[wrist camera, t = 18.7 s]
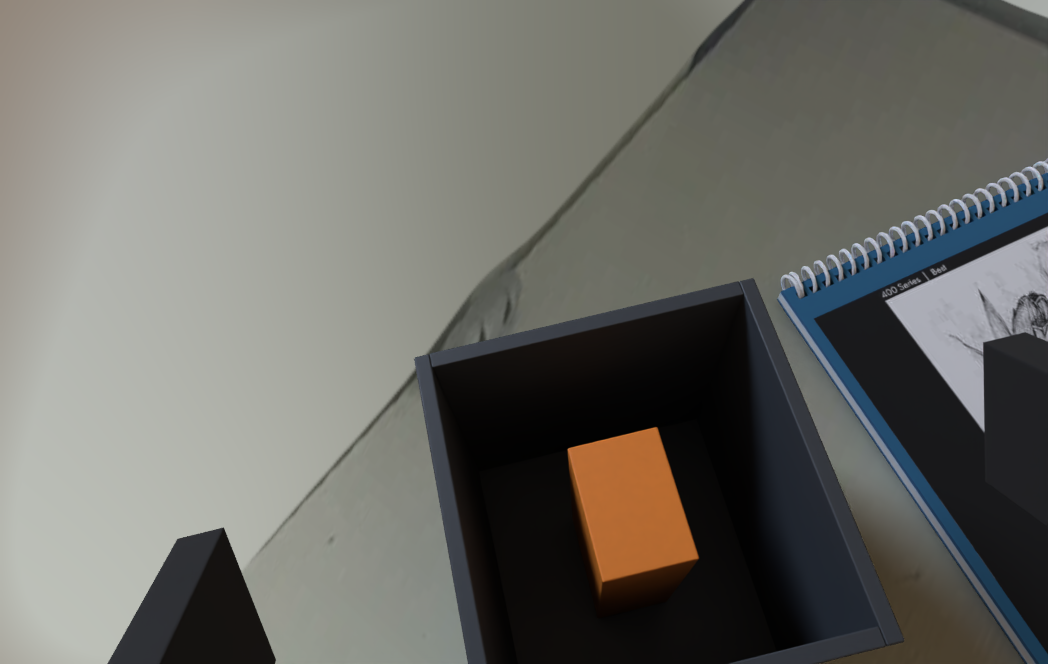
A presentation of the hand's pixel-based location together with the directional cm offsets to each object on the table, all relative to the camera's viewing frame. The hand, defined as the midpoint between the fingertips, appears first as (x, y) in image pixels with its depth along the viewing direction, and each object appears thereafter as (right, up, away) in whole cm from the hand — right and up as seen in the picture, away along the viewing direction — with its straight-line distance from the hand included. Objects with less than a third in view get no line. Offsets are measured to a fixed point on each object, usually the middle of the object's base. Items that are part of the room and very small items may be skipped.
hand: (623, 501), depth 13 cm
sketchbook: (+29, -3, +28) cm, 40 cm away
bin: (+3, -9, +26) cm, 28 cm away
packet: (+3, -9, +26) cm, 27 cm away
